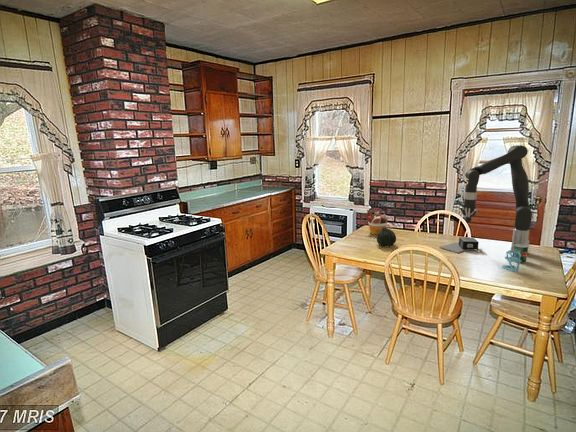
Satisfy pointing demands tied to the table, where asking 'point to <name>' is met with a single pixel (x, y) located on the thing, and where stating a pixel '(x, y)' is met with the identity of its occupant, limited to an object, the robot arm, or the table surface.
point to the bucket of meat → (376, 222)
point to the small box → (468, 243)
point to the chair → (512, 260)
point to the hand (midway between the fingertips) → (468, 222)
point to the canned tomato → (521, 252)
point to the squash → (386, 237)
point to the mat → (453, 248)
